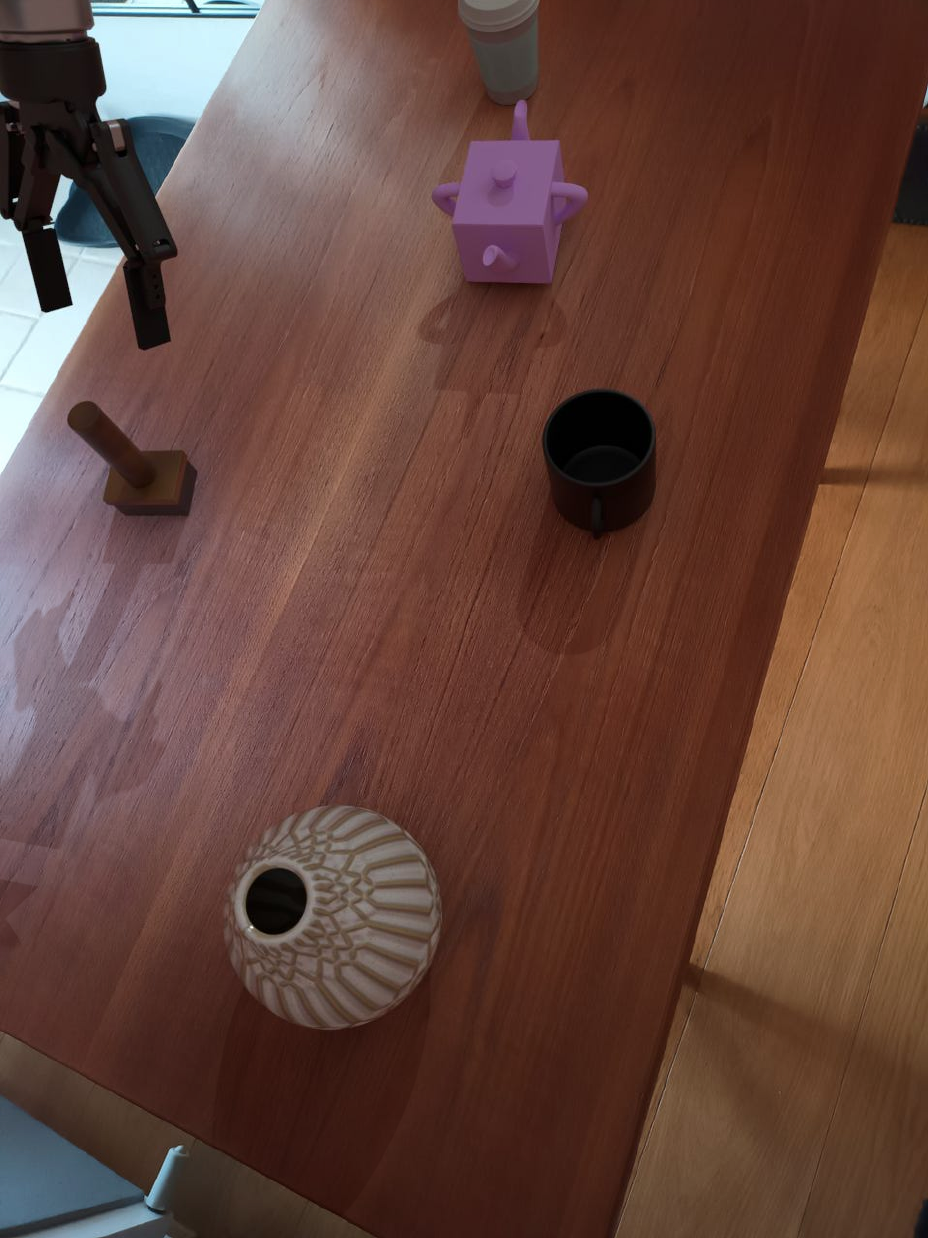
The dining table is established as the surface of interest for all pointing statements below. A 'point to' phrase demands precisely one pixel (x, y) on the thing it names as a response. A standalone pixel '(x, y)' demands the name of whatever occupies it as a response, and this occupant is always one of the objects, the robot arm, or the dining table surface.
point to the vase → (332, 917)
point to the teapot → (510, 207)
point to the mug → (601, 459)
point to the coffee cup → (504, 45)
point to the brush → (135, 467)
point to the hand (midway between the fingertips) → (104, 326)
